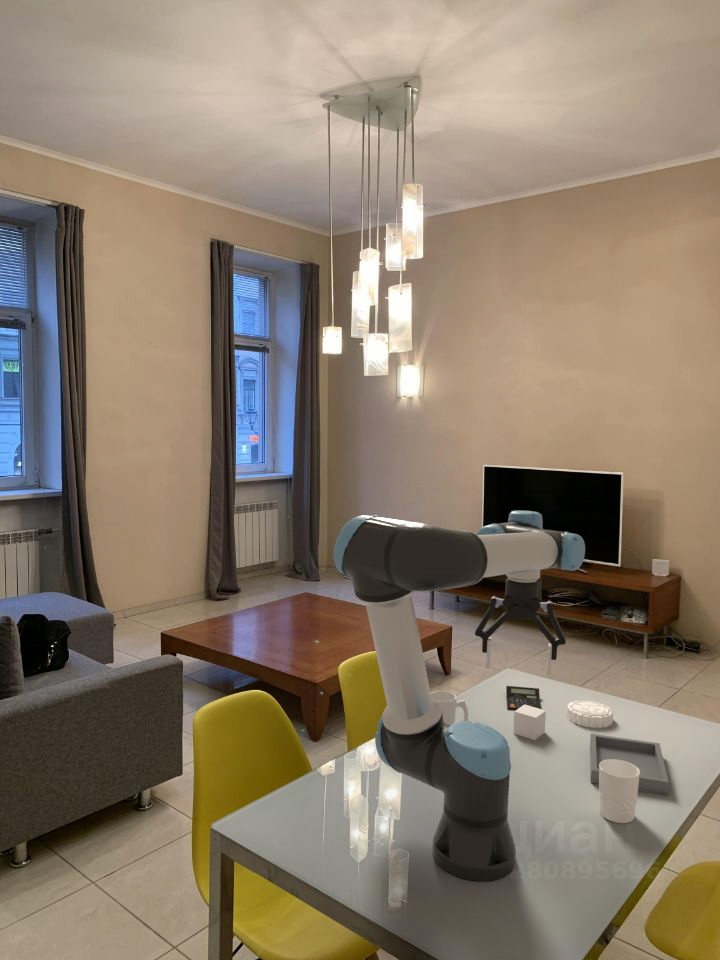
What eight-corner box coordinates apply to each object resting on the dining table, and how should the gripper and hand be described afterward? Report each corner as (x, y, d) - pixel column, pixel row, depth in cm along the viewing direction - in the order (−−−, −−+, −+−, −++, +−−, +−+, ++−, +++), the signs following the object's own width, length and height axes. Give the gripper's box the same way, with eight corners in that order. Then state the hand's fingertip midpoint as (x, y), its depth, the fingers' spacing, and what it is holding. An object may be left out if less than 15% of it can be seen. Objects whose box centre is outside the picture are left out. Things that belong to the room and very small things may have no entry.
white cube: (523, 726, 192) (524, 704, 191) (544, 733, 188) (546, 710, 188) (513, 733, 187) (514, 711, 186) (535, 740, 183) (536, 717, 183)
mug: (429, 749, 177) (431, 701, 176) (425, 737, 184) (426, 691, 183) (470, 748, 178) (472, 701, 177) (464, 736, 184) (466, 690, 183)
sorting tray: (667, 795, 157) (668, 782, 157) (590, 782, 162) (591, 770, 162) (658, 755, 177) (659, 743, 176) (589, 745, 181) (590, 733, 181)
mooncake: (569, 727, 192) (570, 713, 192) (563, 709, 204) (564, 696, 204) (616, 730, 191) (617, 717, 190) (607, 712, 203) (608, 700, 202)
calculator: (507, 710, 202) (507, 699, 202) (505, 695, 214) (506, 685, 214) (541, 713, 201) (542, 702, 201) (538, 697, 212) (539, 688, 212)
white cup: (607, 800, 155) (610, 755, 154) (643, 815, 149) (646, 768, 148) (589, 814, 149) (592, 767, 148) (626, 830, 144) (629, 781, 143)
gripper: (578, 580, 166) (573, 670, 167) (469, 571, 172) (465, 658, 173) (580, 586, 159) (575, 681, 160) (466, 577, 164) (461, 668, 166)
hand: (518, 669), depth 167 cm, fingers open, 13 cm apart
